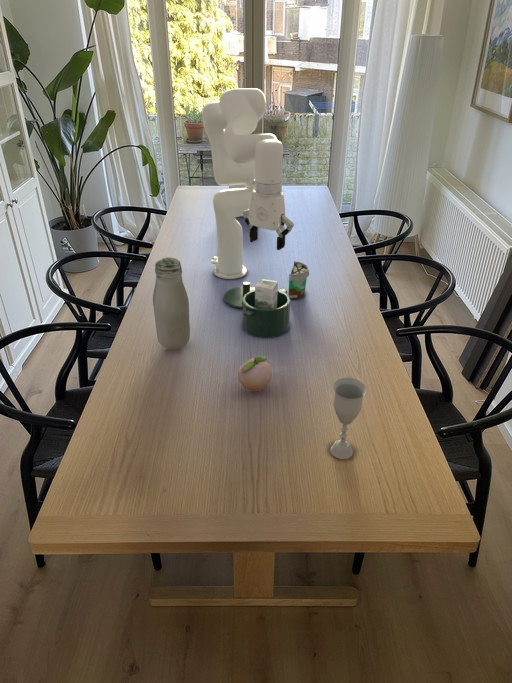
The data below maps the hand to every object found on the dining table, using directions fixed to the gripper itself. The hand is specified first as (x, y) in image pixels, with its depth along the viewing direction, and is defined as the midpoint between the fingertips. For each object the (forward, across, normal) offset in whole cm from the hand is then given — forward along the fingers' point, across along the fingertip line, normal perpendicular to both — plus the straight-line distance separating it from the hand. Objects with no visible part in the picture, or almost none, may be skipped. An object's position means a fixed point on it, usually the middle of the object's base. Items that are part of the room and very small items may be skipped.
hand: (266, 244), depth 154 cm
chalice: (+25, +48, -39) cm, 67 cm away
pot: (+26, +2, -3) cm, 26 cm away
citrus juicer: (+28, -69, +82) cm, 111 cm away
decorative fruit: (+26, +20, -32) cm, 45 cm away
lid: (+26, -13, +8) cm, 30 cm away
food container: (+26, -1, +22) cm, 34 cm away
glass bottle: (+26, -12, -29) cm, 41 cm away
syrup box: (+26, +2, -3) cm, 26 cm away
